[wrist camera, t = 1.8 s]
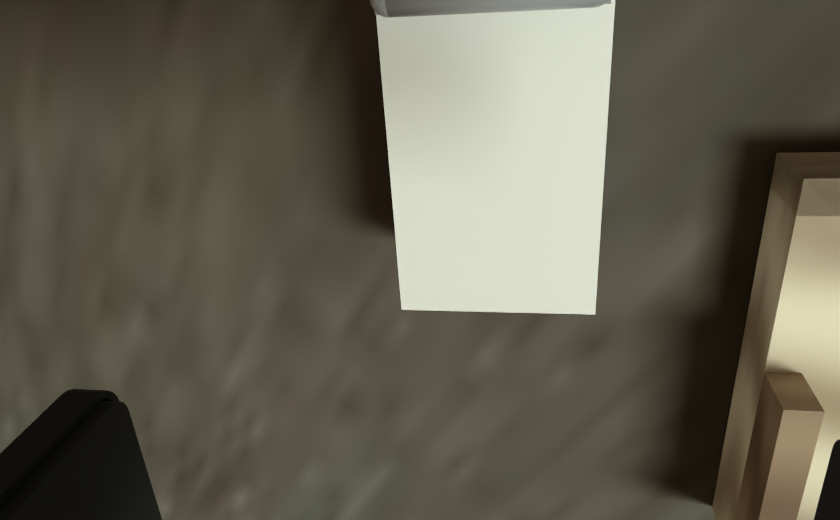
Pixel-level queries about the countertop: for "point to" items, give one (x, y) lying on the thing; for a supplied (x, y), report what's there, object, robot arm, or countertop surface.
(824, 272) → the dock
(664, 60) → the countertop surface
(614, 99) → the countertop surface
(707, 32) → the countertop surface
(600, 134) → the cream rod-topped slab
